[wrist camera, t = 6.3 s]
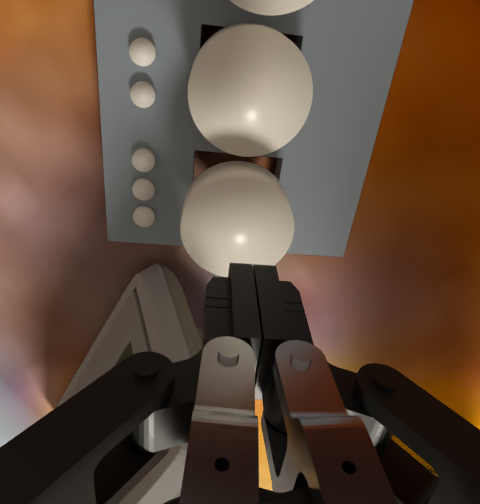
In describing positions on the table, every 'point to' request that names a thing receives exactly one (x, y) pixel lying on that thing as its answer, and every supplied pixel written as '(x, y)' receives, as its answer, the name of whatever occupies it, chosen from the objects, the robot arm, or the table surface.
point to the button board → (190, 139)
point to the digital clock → (140, 340)
